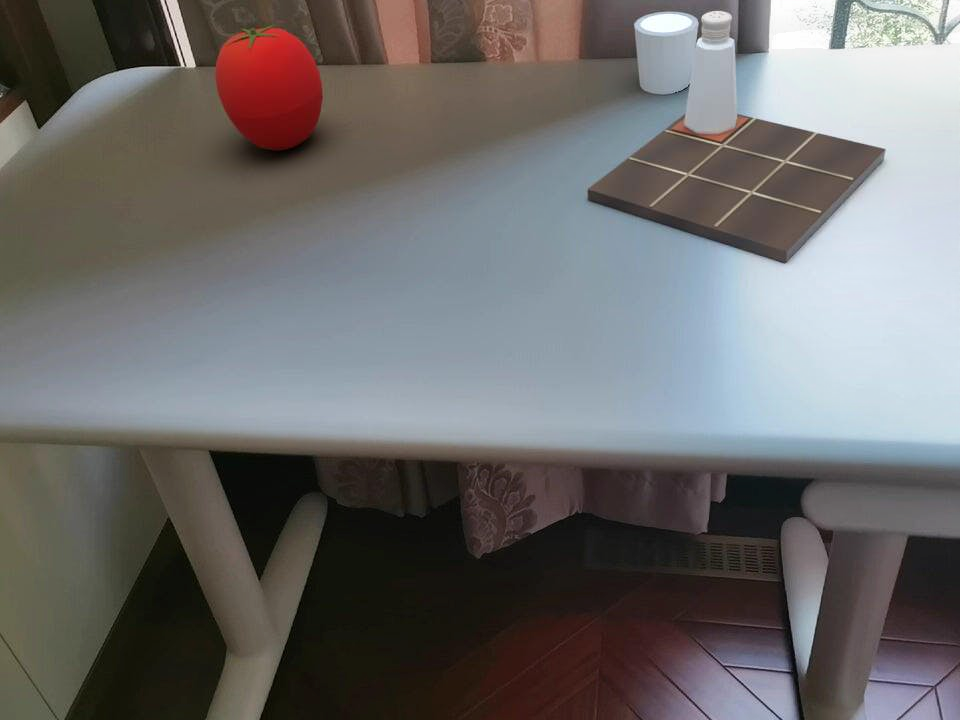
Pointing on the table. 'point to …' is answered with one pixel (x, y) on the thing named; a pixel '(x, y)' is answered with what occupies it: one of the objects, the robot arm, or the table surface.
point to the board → (740, 183)
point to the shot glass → (665, 51)
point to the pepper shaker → (713, 78)
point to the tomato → (269, 87)
